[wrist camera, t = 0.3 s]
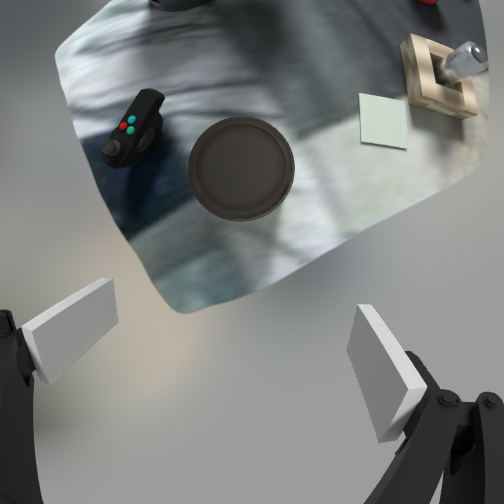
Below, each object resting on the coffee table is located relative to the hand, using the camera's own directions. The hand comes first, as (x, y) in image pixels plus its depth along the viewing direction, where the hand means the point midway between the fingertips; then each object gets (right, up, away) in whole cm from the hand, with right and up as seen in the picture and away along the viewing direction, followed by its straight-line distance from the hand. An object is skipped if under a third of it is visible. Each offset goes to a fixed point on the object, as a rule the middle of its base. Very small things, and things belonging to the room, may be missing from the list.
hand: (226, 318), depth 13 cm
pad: (+21, +23, +21) cm, 38 cm away
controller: (-14, +22, +25) cm, 36 cm away
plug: (+33, +33, +18) cm, 50 cm away
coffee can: (+1, +14, +25) cm, 29 cm away
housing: (+33, +33, +18) cm, 50 cm away
